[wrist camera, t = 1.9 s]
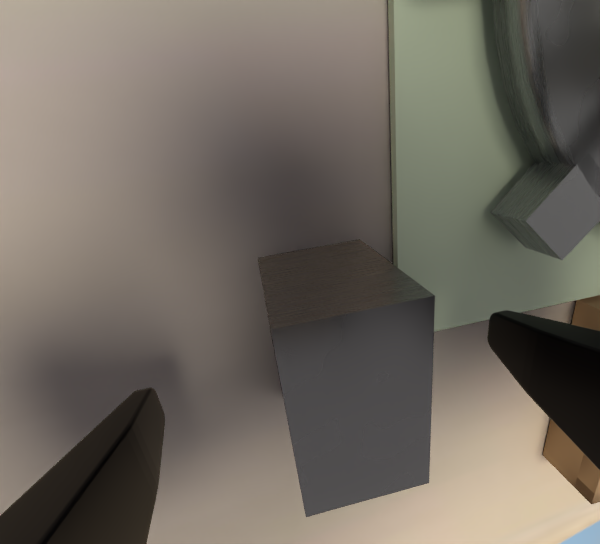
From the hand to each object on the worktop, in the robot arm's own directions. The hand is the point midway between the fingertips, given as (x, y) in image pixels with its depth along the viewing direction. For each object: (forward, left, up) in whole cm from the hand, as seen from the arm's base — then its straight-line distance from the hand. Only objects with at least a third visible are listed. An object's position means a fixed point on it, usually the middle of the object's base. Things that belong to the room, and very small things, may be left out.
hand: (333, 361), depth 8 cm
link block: (0, 0, -2) cm, 2 cm away
